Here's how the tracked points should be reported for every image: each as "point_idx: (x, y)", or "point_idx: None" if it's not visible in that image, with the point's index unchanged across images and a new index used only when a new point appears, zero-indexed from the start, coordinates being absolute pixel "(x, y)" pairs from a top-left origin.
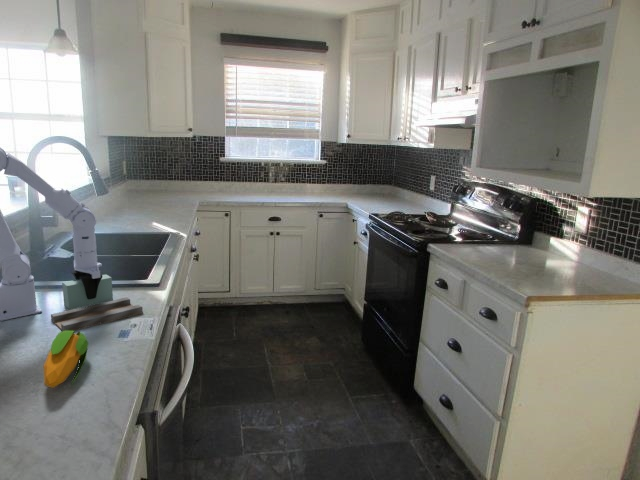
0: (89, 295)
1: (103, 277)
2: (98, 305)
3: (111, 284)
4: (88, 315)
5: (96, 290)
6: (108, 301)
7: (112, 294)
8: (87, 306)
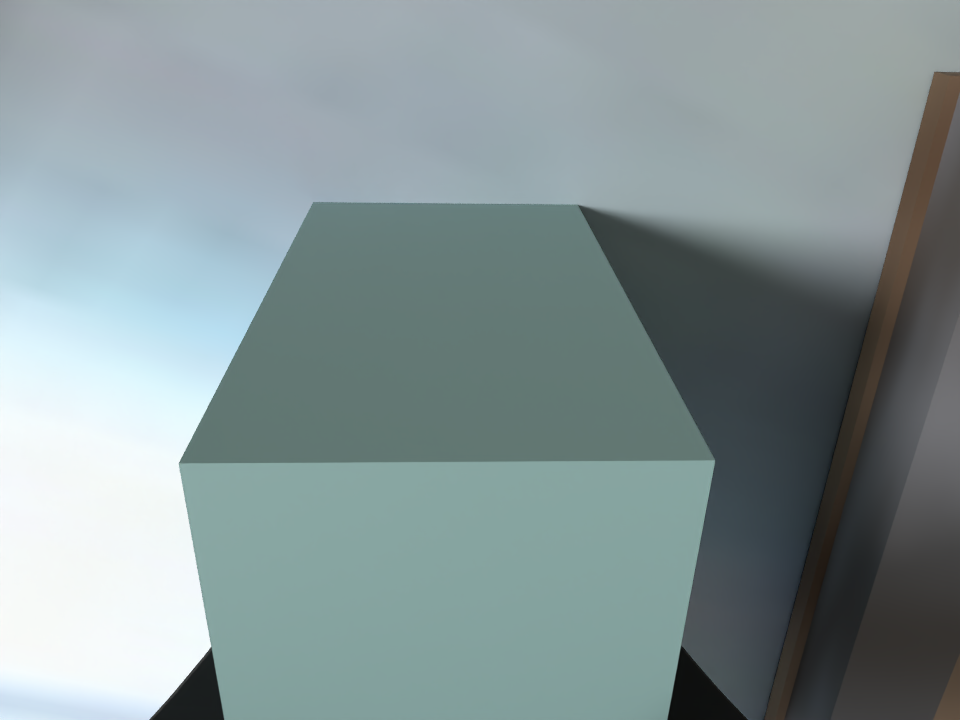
0: None
1: (514, 630)
2: (939, 607)
3: (651, 353)
4: (951, 683)
5: None
6: (920, 452)
7: (597, 242)
8: (849, 710)
